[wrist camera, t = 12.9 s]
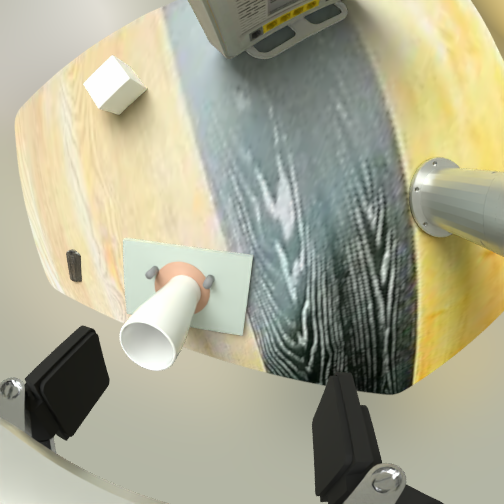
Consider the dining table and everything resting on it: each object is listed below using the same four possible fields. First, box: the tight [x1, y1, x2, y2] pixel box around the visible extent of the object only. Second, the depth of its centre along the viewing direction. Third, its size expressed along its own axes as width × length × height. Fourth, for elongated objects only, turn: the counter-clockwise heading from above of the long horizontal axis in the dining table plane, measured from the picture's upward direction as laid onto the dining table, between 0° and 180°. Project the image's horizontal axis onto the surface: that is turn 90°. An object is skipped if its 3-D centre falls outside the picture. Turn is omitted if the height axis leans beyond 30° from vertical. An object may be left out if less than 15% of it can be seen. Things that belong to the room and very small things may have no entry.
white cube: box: [84, 55, 147, 115], centre depth 30 cm, size 6×6×6 cm
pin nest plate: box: [123, 238, 253, 336], centre depth 40 cm, size 20×13×4 cm, turn 83°
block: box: [66, 249, 82, 282], centre depth 42 cm, size 4×6×2 cm, turn 175°
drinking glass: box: [120, 275, 201, 371], centre depth 33 cm, size 7×7×15 cm
